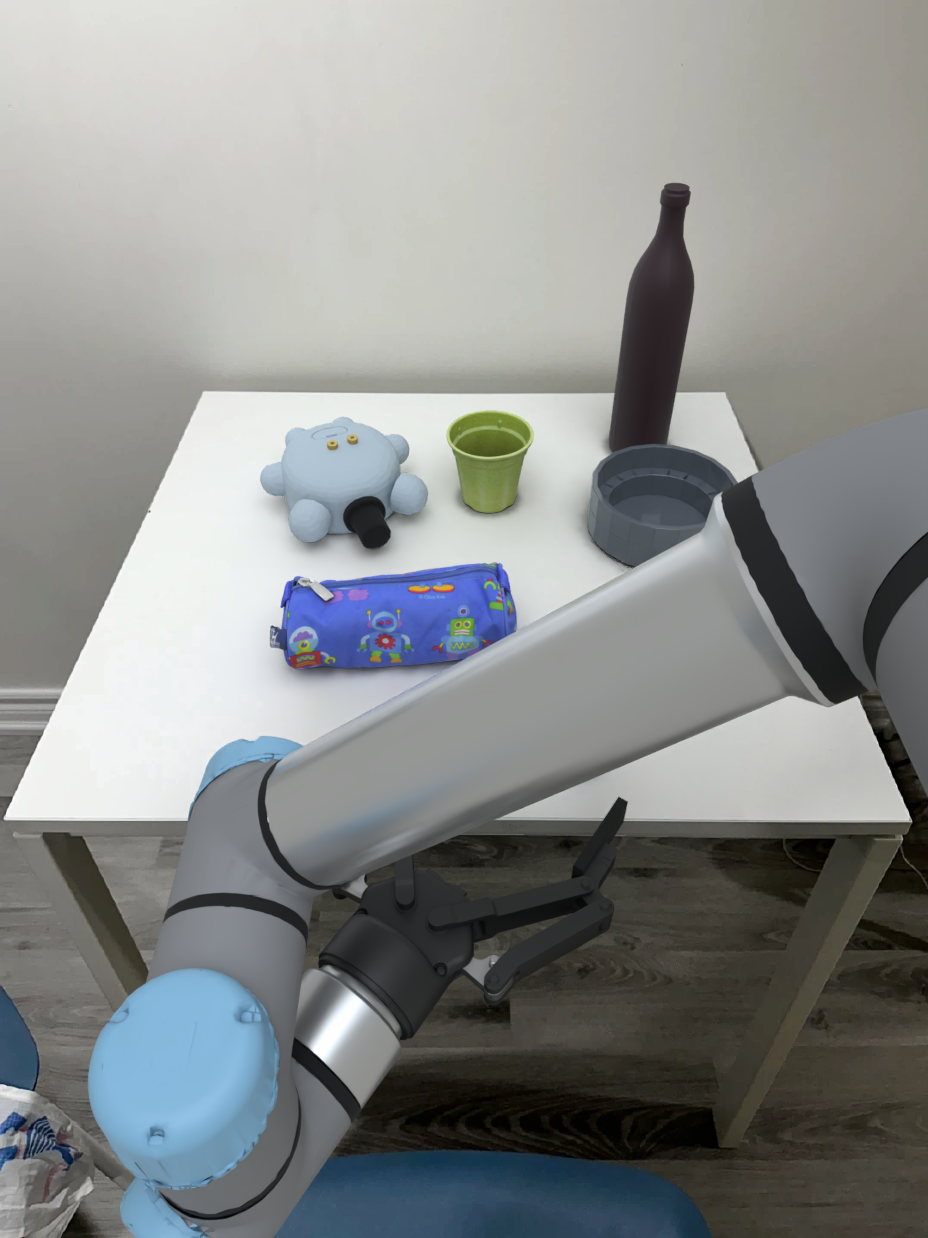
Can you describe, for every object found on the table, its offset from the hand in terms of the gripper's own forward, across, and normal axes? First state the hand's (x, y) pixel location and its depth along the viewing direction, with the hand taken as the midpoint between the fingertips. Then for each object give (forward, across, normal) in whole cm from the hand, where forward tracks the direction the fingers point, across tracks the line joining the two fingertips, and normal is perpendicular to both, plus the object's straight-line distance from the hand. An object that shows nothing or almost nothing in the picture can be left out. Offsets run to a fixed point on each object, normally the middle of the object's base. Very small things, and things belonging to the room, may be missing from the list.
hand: (540, 765), depth 64 cm
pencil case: (+8, -20, -6) cm, 22 cm away
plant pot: (+32, -26, -6) cm, 42 cm away
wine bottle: (+52, -17, -6) cm, 55 cm away
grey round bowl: (+38, -8, -6) cm, 39 cm away
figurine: (+22, -38, -6) cm, 44 cm away
